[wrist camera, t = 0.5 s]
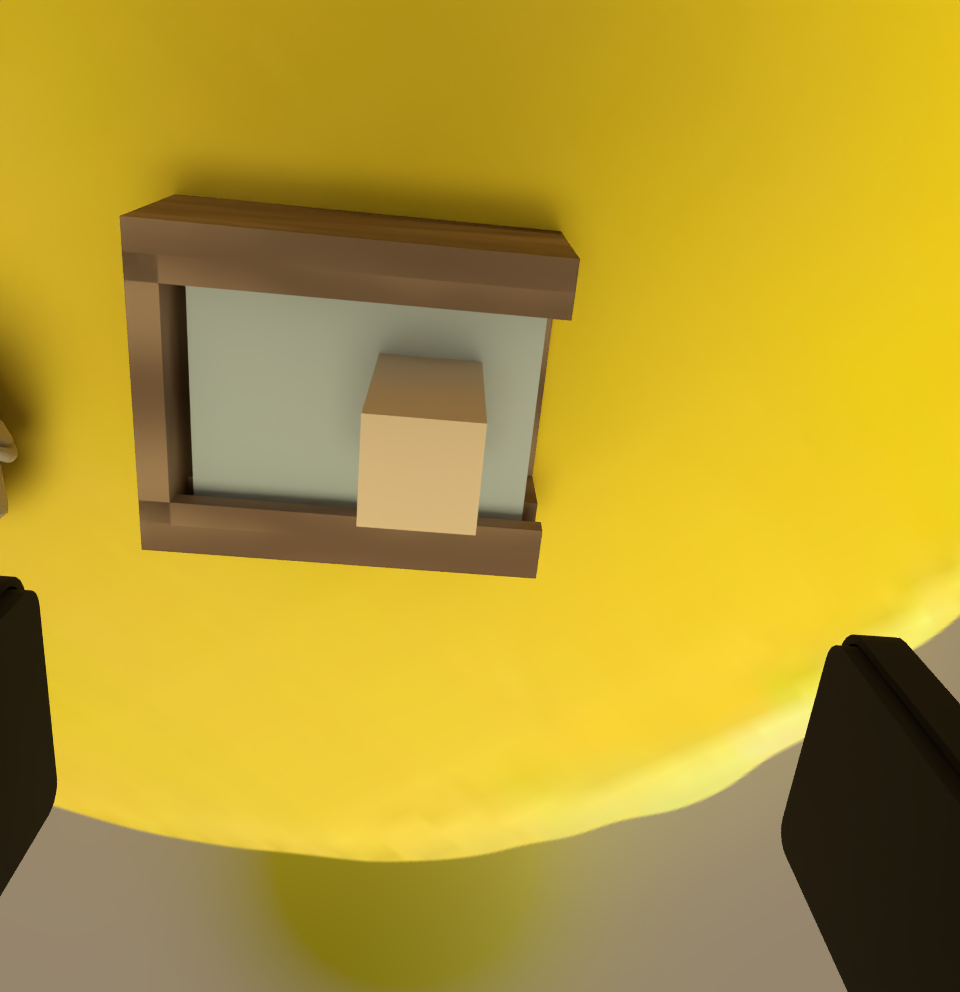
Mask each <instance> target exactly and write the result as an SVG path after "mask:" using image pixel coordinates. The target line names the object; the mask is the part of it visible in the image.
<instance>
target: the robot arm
mask: <svg viewBox="0 0 960 992" xmlns="http://www.w3.org/2000/svg"><path fill="white" fill-rule="evenodd" d="M56 789H57V775H56V765H55V755H54V745H53V735H52V725H51V715H50V705H49V695H48V685H47V675H46V665H45V655H44V645H43V636H42V626H41V616H40V606H39V600H38V597H37V595H36V593H35V592H34V591H31V590H24V587H23V585H22V583H21V581H20V580H19V579H18V578H17V577H9V576H0V896H1V894H2V892H3V891H4V889H5V887H6V886H7V884H8V882H9V881H10V879H11V877H12V876H13V874H14V872H15V871H16V869H17V867H18V866H19V864H20V862H21V861H22V859H23V857H24V855H25V854H26V852H27V850H28V849H29V847H30V845H31V844H32V842H33V840H34V839H35V837H36V835H37V834H38V832H39V830H40V829H41V827H42V825H43V824H44V822H45V820H46V819H47V817H48V815H49V813H50V811H51V809H52V806H53V803H54V800H55V795H56ZM781 838H782V845H783V850H784V852H785V855H786V857H787V860H788V862H789V864H790V866H791V868H792V870H793V872H794V875H795V877H796V879H797V882H798V884H799V886H800V888H801V890H802V893H803V895H804V897H805V899H806V901H807V903H808V906H809V908H810V910H811V912H812V914H813V917H814V919H815V921H816V923H817V925H818V927H819V929H820V932H821V934H822V936H823V938H824V941H825V943H826V945H827V947H828V950H829V952H830V954H831V956H832V958H833V960H834V963H835V965H836V967H837V969H838V972H839V974H840V976H841V978H842V980H843V983H844V984H845V987H846V989H847V991H848V992H960V704H959V702H958V701H957V700H956V699H955V698H954V697H953V696H952V694H950V692H949V691H948V690H947V689H946V688H945V687H944V686H943V684H942V683H941V682H940V681H939V680H938V679H937V677H936V676H935V675H934V674H933V673H932V672H931V671H930V670H929V669H928V667H927V666H926V665H925V664H924V663H923V662H922V661H921V659H920V658H919V657H918V656H917V655H916V654H915V653H914V651H913V650H912V649H911V648H910V647H909V646H908V645H907V643H906V642H904V641H903V640H902V639H901V638H895V637H881V636H866V635H850V636H848V637H847V638H846V639H845V640H844V642H843V643H842V646H839V645H835V646H833V647H832V648H831V649H830V650H829V652H828V655H827V657H826V661H825V664H824V668H823V672H822V675H821V679H820V683H819V687H818V690H817V694H816V698H815V701H814V705H813V709H812V712H811V716H810V720H809V723H808V727H807V731H806V734H805V738H804V742H803V746H802V749H801V753H800V757H799V760H798V764H797V768H796V771H795V775H794V779H793V783H792V786H791V790H790V793H789V797H788V801H787V804H786V809H785V812H784V816H783V820H782V825H781Z"/></svg>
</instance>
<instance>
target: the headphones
mask: <svg viewBox="0 0 960 992" xmlns="http://www.w3.org/2000/svg"><path fill="white" fill-rule="evenodd" d="M17 456H18V451H17V447H16V445H15V444H14V442H13V437H12V435H11V434H10V432H9V431H8V429H7V428H6V426H5V425H4V423H3V422H2V421H1V419H0V461H2V462H6V463H10V462H13V461H14V460H15V459H16V458H17ZM6 513H8V500H7V495H6V489H5V484H4V479H3V473H2V468H1V462H0V518H1V517H3V516H4V515H5V514H6Z"/></svg>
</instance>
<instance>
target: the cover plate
mask: <svg viewBox="0 0 960 992" xmlns="http://www.w3.org/2000/svg"><path fill="white" fill-rule="evenodd" d="M186 310H187V336H188V362H189V388H190V414H191V440H192V466H193V492H194V496H206V497H219V498H232V499H245V500H258V501H271V502H284V503H297V504H310V505H323V506H336V507H349V508H357V521H356V526H357V527H370V528H383V529H396V530H410V531H423V532H436V533H449V534H462V535H476V527H477V517H478V518H491V519H504V520H517V521H522V513H523V505H524V497H525V489H526V482H527V474H528V466H529V458H530V450H531V442H532V434H533V426H534V419H535V411H536V403H537V395H538V387H539V379H540V371H541V363H542V355H543V348H544V340H545V332H546V324H547V318H538V317H527V316H515V315H504V314H493V313H482V312H471V311H460V310H449V309H438V308H427V307H416V306H405V305H393V304H382V303H371V302H360V301H349V300H338V299H327V298H316V297H305V296H294V295H283V294H271V293H260V292H249V291H238V290H227V289H216V288H205V287H194V286H186Z"/></svg>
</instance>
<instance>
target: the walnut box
mask: <svg viewBox="0 0 960 992" xmlns="http://www.w3.org/2000/svg"><path fill="white" fill-rule="evenodd" d="M120 228H121V243H122V258H123V273H124V288H125V304H126V319H127V334H128V349H129V364H130V379H131V394H132V409H133V424H134V439H135V454H136V469H137V484H138V499H139V514H140V530H141V545H142V550H155V551H168V552H182V553H195V554H209V555H223V556H236V557H250V558H263V559H277V560H291V561H304V562H318V563H331V564H345V565H359V566H372V567H386V568H400V569H413V570H427V571H440V572H454V573H468V574H481V575H495V576H508V577H522V578H536V573H537V566H538V558H539V551H540V544H541V537H542V527H541V522H535V517H536V510H537V500H536V494H535V489H534V483H533V478H532V474H533V466H534V459H535V451H536V443H537V435H538V428H539V420H540V412H541V405H542V397H543V389H544V381H545V374H546V366H547V358H548V350H549V343H550V335H551V327H552V320H553V319H560V320H572V312H573V305H574V298H575V291H576V283H577V276H578V269H579V262H580V259H579V257H578V256H577V254H576V253H575V251H574V250H573V248H572V247H571V246H570V244H569V243H568V241H567V240H566V238H565V237H564V235H563V234H562V232H560V231H550V230H539V229H529V228H518V227H508V226H497V225H487V224H477V223H466V222H456V221H445V220H435V219H424V218H414V217H404V216H393V215H383V214H372V213H362V212H351V211H341V210H330V209H320V208H310V207H299V206H289V205H278V204H268V203H257V202H247V201H237V200H226V199H216V198H205V197H195V196H184V195H172V196H170V197H167V198H165V199H162V200H159V201H157V202H154V203H152V204H149V205H147V206H144V207H141V208H139V209H136V210H134V211H131V212H129V213H126V214H123V215H121V216H120ZM186 286H194V287H205V288H216V289H227V290H238V291H249V292H260V293H271V294H283V295H294V296H305V297H316V298H327V299H338V300H349V301H360V302H371V303H382V304H393V305H405V306H416V307H427V308H438V309H449V310H460V311H471V312H482V313H493V314H504V315H515V316H527V317H538V318H547V324H546V332H545V340H544V348H543V355H542V363H541V371H540V379H539V387H538V395H537V403H536V411H535V419H534V426H533V434H532V442H531V450H530V458H529V466H528V474H527V482H526V489H525V497H524V505H523V513H522V521H517V520H504V519H491V518H478V517H477V527H476V535H462V534H449V533H436V532H423V531H410V530H396V529H383V528H370V527H357V526H356V521H357V508H349V507H336V506H323V505H310V504H297V503H284V502H271V501H258V500H245V499H232V498H219V497H206V496H194V492H193V466H192V440H191V414H190V388H189V362H188V336H187V310H186Z"/></svg>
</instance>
